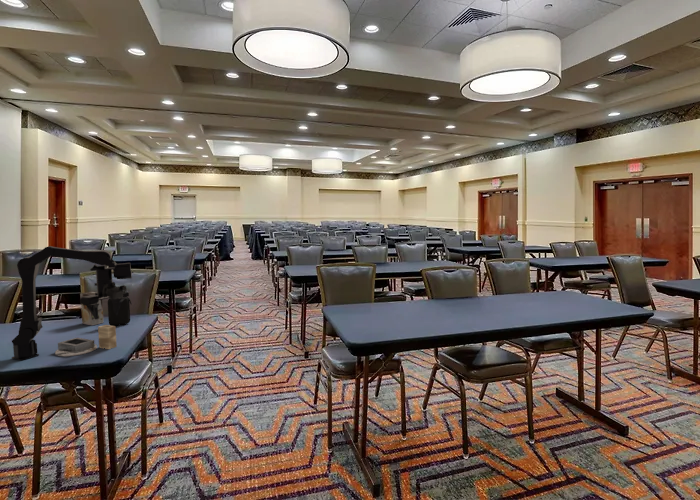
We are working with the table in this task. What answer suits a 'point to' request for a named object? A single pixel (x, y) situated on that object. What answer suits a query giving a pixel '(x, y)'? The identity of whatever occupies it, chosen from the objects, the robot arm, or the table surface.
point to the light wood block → (107, 336)
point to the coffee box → (87, 315)
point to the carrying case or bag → (119, 313)
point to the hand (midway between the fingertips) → (106, 316)
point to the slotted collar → (75, 347)
